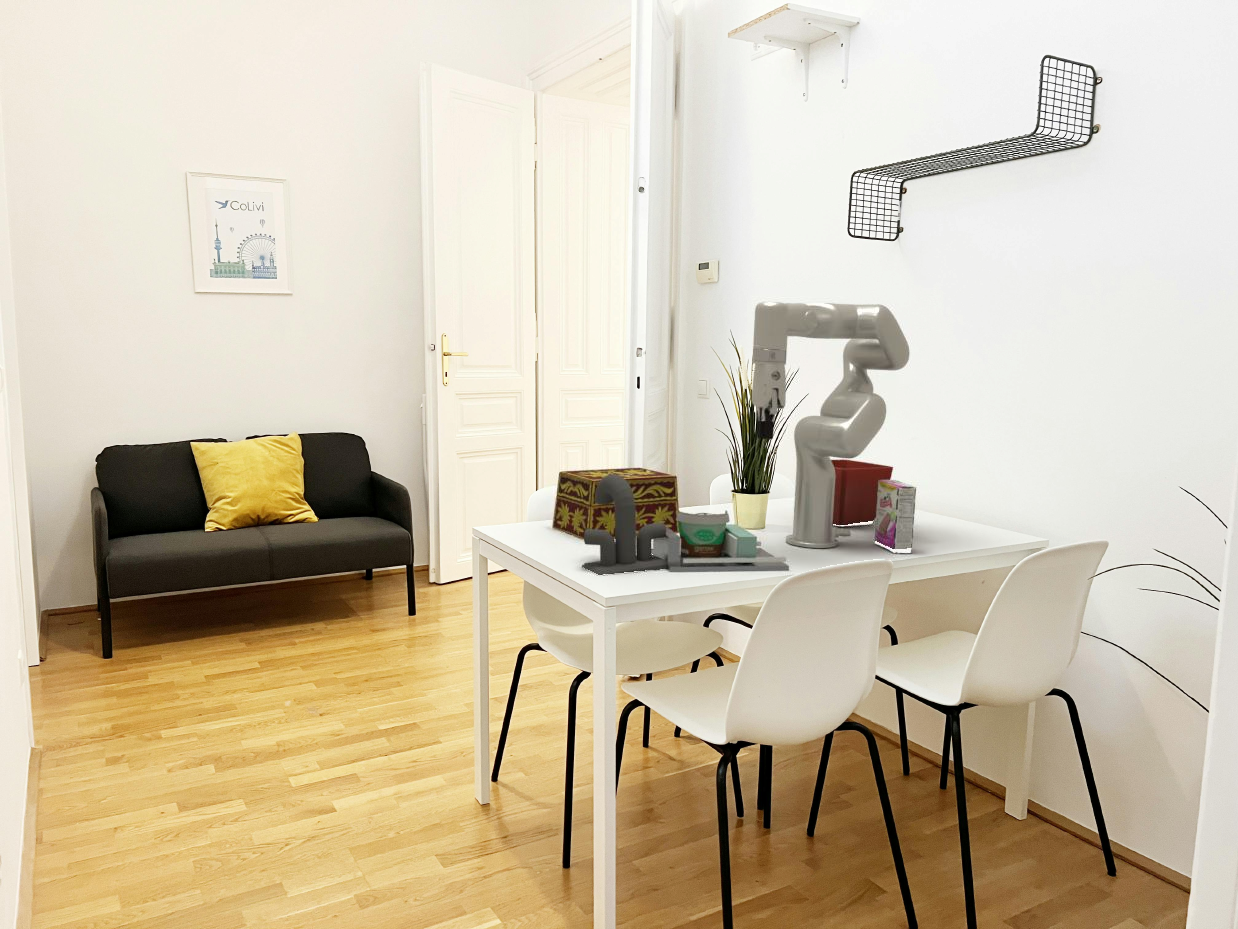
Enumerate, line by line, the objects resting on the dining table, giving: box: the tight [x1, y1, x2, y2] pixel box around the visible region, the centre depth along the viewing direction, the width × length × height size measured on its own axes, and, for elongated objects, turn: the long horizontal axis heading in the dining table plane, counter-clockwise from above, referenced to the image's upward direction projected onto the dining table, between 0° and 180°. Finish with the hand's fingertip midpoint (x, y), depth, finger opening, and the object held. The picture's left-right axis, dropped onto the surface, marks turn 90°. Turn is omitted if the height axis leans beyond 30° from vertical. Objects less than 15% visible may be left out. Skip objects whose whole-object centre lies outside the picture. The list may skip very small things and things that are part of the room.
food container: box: [676, 509, 730, 558], centre depth 204 cm, size 12×6×10 cm, turn 106°
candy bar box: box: [874, 479, 917, 549], centre depth 224 cm, size 11×5×16 cm, turn 9°
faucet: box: [581, 474, 667, 576], centre depth 198 cm, size 18×16×20 cm
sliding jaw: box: [722, 523, 758, 563], centre depth 205 cm, size 4×14×6 cm, turn 11°
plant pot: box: [831, 458, 894, 525], centre depth 257 cm, size 19×19×17 cm
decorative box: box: [551, 467, 680, 540], centre depth 236 cm, size 28×19×15 cm
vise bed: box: [651, 525, 790, 573], centre depth 205 cm, size 26×18×7 cm
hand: (765, 438), depth 210 cm, fingers closed
